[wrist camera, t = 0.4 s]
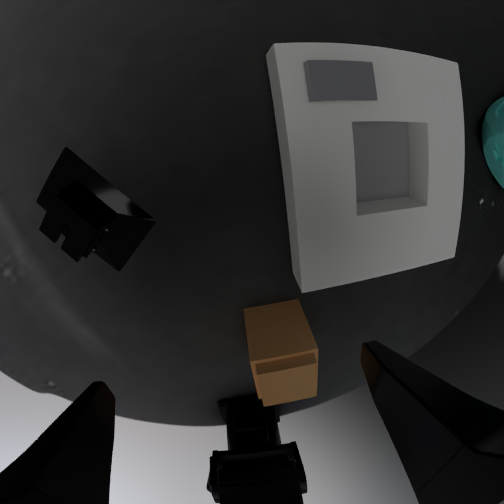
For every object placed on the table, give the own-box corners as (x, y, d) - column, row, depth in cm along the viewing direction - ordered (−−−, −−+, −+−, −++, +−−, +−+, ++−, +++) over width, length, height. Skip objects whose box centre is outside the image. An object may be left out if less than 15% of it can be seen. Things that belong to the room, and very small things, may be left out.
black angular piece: (24, 196, 18) (-9, 214, 13) (63, 121, 16) (28, 124, 12) (131, 285, 22) (116, 320, 18) (184, 221, 20) (174, 248, 16)
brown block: (300, 338, 26) (320, 397, 19) (251, 347, 25) (260, 409, 19) (298, 298, 23) (322, 358, 17) (243, 308, 23) (251, 372, 17)
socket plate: (435, 242, 23) (459, 261, 19) (292, 271, 22) (304, 299, 19) (433, 65, 16) (464, 62, 12) (265, 55, 15) (276, 39, 12)
